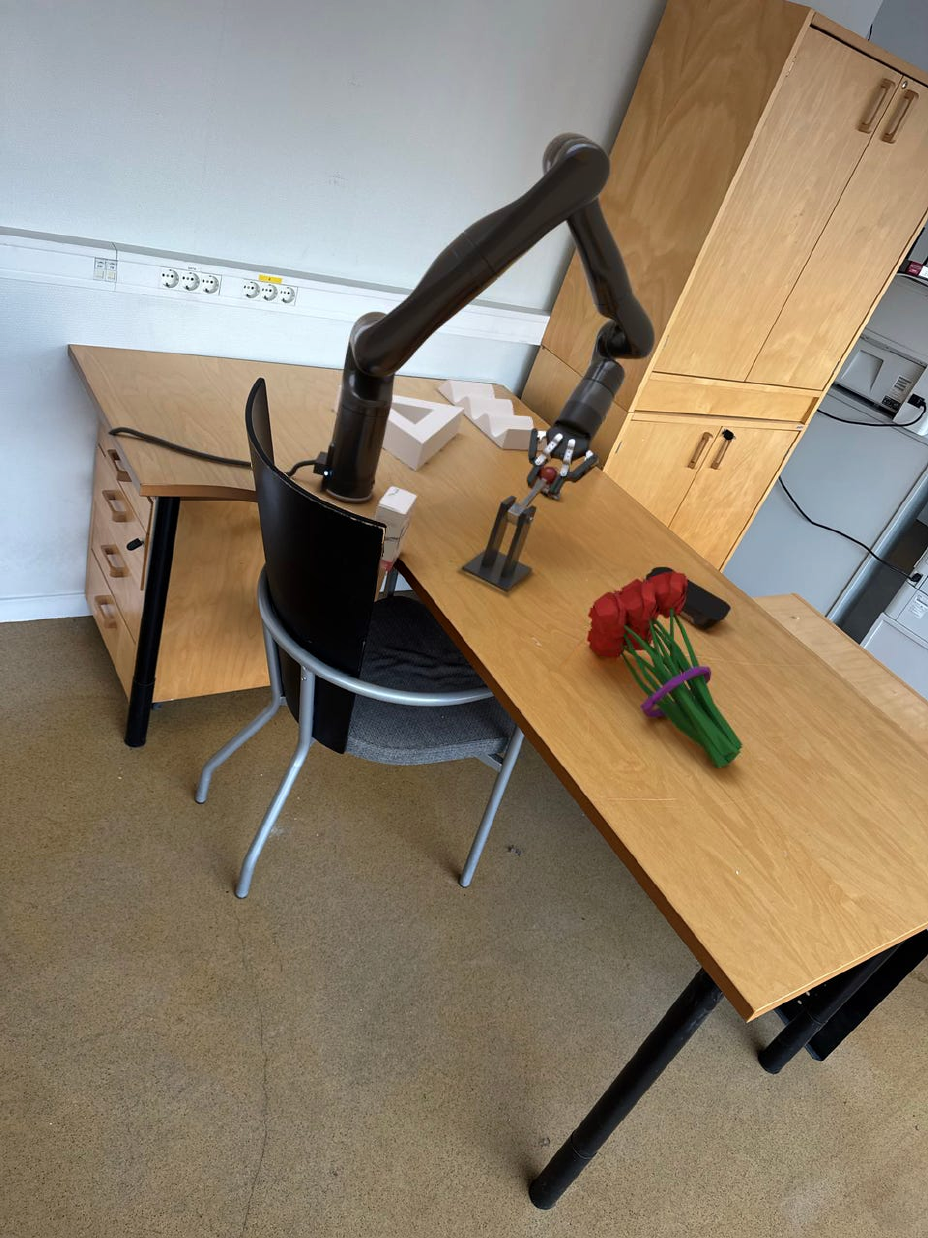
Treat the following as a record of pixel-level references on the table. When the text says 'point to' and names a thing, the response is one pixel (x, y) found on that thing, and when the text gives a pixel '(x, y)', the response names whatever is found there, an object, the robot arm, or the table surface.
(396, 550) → the ink box
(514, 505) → the lever
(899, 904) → the table surface
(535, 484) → the crumpled paper
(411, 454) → the triangle block
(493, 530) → the bracket
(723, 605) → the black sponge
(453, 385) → the file organizer
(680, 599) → the bouquet
